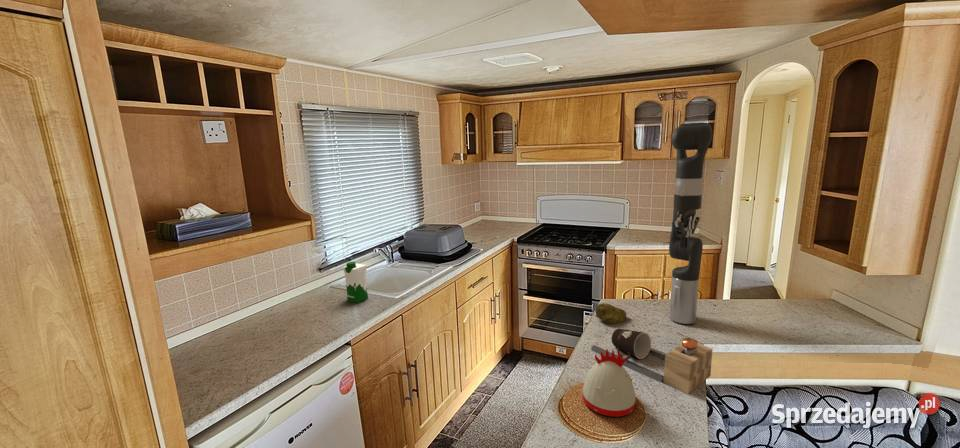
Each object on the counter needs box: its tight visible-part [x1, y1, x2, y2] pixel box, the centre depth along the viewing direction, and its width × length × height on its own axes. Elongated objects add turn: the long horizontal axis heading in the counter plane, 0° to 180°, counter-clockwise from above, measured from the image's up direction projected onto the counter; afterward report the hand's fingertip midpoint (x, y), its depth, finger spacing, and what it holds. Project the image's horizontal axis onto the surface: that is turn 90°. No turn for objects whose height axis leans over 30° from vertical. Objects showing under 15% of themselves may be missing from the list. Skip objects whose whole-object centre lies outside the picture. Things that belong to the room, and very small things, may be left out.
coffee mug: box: [611, 328, 652, 360], centre depth 132 cm, size 12×9×10 cm
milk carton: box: [342, 261, 369, 304], centre depth 185 cm, size 9×9×20 cm
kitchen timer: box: [582, 348, 636, 417], centre depth 107 cm, size 14×14×15 cm
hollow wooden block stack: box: [663, 343, 714, 395], centre depth 116 cm, size 14×7×9 cm, turn 127°
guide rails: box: [590, 344, 667, 383], centre depth 130 cm, size 14×25×2 cm, turn 37°
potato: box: [594, 302, 627, 324], centre depth 156 cm, size 8×13×8 cm, turn 87°
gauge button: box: [681, 337, 698, 356], centre depth 116 cm, size 4×4×10 cm
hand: (684, 248), depth 123 cm, fingers closed
